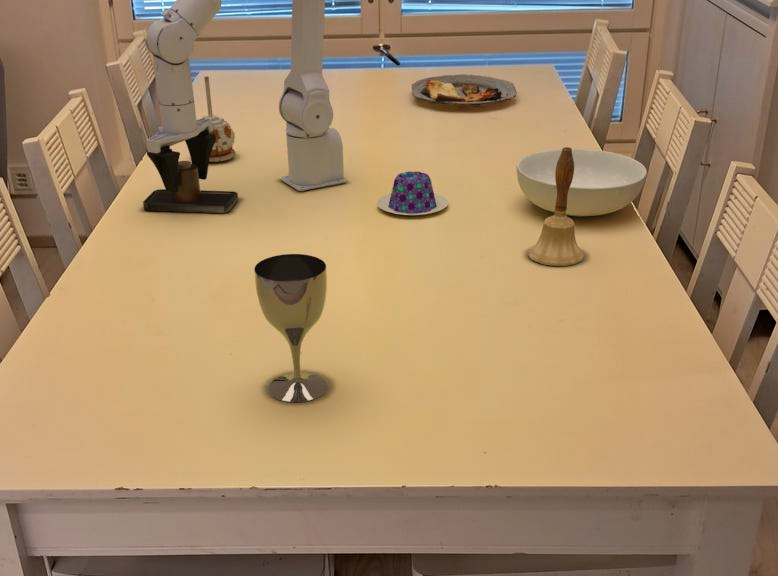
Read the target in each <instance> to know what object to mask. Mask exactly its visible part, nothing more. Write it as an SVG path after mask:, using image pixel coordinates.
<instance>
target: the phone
mask: <svg viewBox="0 0 778 576" xmlns="http://www.w3.org/2000/svg"><path fill="white" fill-rule="evenodd" d="M200 193H201V200H200V201H198V202H194V203H187V204H184V203H178V202H176V201H175V195H174V193H173V192H168V191H166V189H165V188H164V189H163V188H159V189H155V190H153V191H152V192H151V193H150V194H149V195H148V196H147V197H146V198H145V199H144V200H143V201H142V206H143V210H145V211H148V212H149V211H150V212H153V211H154V212H177V213H179V212H180V213H181V212H182V213H209V214H225V213H229V212H230V211H231V210H232V208H234V206H235V205H236V203H237V202H238V201H239V194H238V193H239V192H237V191H232V190H231V191H230V190H228V191H227V190H226V191H225V190H200Z"/></svg>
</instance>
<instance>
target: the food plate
mask: <svg viewBox="0 0 778 576" xmlns="http://www.w3.org/2000/svg"><path fill="white" fill-rule="evenodd" d="M411 93H412V96H413V97H414V98H416V99H417V100H421V101H426V102H429V103H434V104H442V105H460V106H467V107H472V106H473V107H479V106H481V105H487V104H493V103H503V102H506V101H510V100H512V99H513V98H516V97H517V95H518V92H517V90H516V87H515V85H514V82H512V81H509V80H505V79H500V78H496V77H492V76H485V75H478V74H467V73H466V74H465V73H464V74H445V75H437V76H429V77H426V78H425V77H424V78H421V79H419V80H416V81H415V82H413V83H411Z"/></svg>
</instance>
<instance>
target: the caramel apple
mask: <svg viewBox="0 0 778 576" xmlns="http://www.w3.org/2000/svg"><path fill="white" fill-rule="evenodd" d="M209 77H210V76H208V75H205V76H204V86H205V87H204V88H205V95H206V105H207V106H206V107H207V115H204V116H202V117H201V118H200V119H202V118H206V119H212V125H213V131H212V132H209V134H214V135H215V136H216V142H215V144H214V146H213V148H212V151H211V155H210V159H209V163H219V162H224V161H227V160H232V158H234V157H235V155H236V151H235V149H234V148H233V145H234V144H235V139H236V136H235V135H236V134H235V132H234V130H233V128H231V125H230V123H229V122H227V120H225V118H223V117H220V116H217V115H214V114H213V107H212V98H211V97H212V96H211V86H210V78H209Z"/></svg>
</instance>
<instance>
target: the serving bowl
mask: <svg viewBox="0 0 778 576" xmlns="http://www.w3.org/2000/svg"><path fill="white" fill-rule="evenodd" d="M562 149H563V148H557V149H556V148H555V149H547V150H541V151H537V152H533V153H530V154H528V155H526V156H523V157H522V158H520V159H519V161H518V162H517V164H516V177H517V182H518V185H519V188H520V190H521V192H522V193H523V194H524V196H525V197H526V199H528V200H529V201H530V203H532V204H534V205H535V206H537V207H539V208H541V209H544V210H546V211H549V212H552V213H554V211H555V206H556V198H557V186H556V180H555V172H556V165H557V162H558V159H559V157H560V155H561V152H562ZM571 149H572V156H573V160H574V174H573V179H572V183H571V185H570V188H569V191H568V196H567V210H566V216H567V217H579V218H580V217H581V218H582V217H593V216H602V215H607V214H611V213H614V212H618V211H619V210H621V209H624V208H626V207H627V206H628V205H630V204H631V203H632V202H633V201H634V200H635V199H636V198H637V197H638V196H639V194H640V193H641V191H642V189H643V187H644V185H645V182H646V178H647V175H648V171H647V168H646V167H645V165H644V164H642V163H641V162H640V161H638V160H636V159H634V158H632V157H630V156H627V155H624V154H621V153H617V152H611V151H606V150H600V149H591V148H571Z"/></svg>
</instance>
